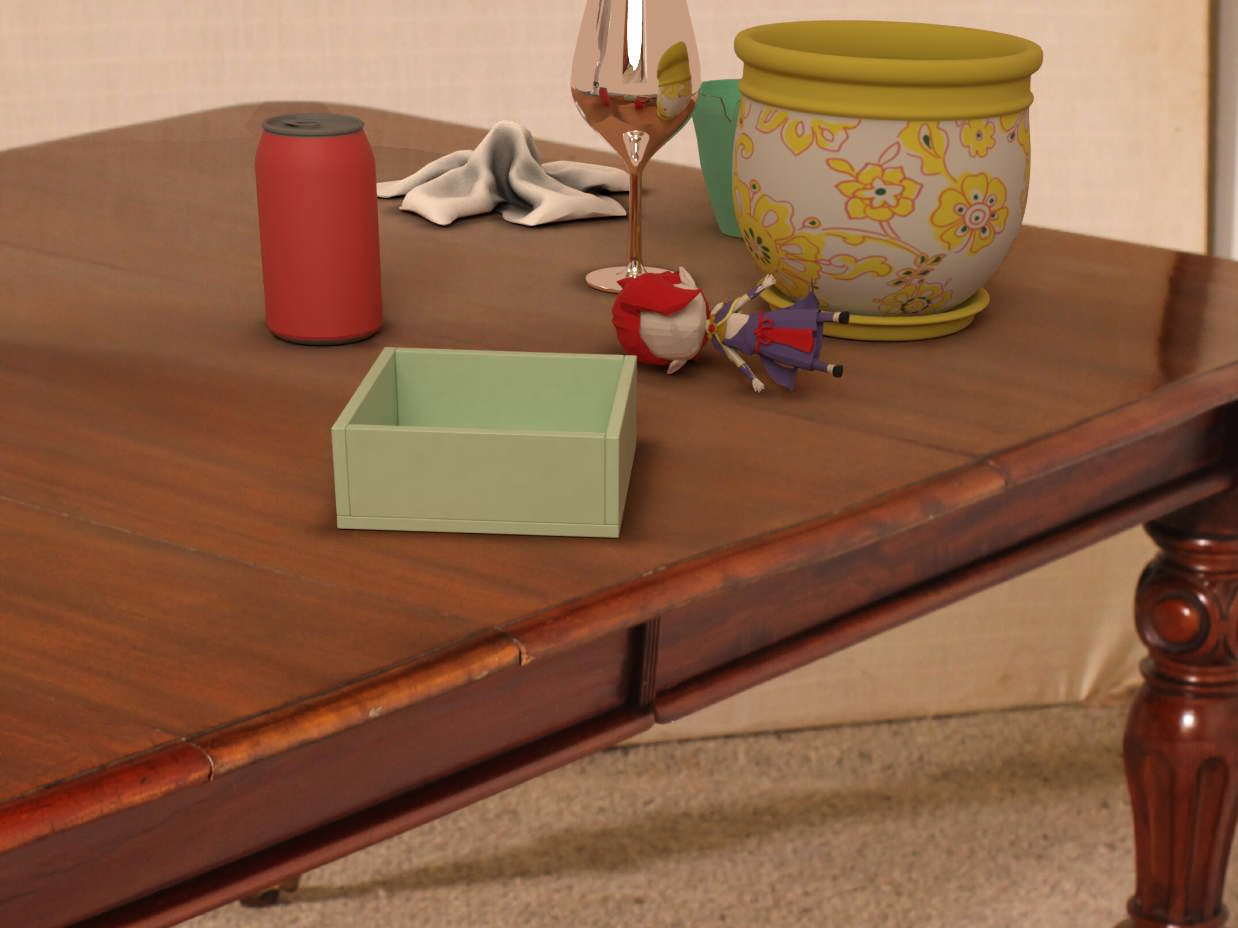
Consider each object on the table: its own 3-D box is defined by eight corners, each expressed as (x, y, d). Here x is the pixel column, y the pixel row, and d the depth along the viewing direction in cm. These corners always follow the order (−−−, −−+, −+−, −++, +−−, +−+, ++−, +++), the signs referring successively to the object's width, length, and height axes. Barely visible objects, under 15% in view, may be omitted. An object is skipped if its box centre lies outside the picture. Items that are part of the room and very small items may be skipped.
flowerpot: (894, 375, 105) (915, 71, 98) (665, 309, 116) (669, 32, 109) (1075, 318, 117) (1104, 45, 110) (852, 264, 128) (867, 12, 121)
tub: (337, 528, 82) (331, 427, 80) (388, 437, 93) (384, 346, 91) (618, 538, 82) (619, 437, 80) (636, 445, 93) (637, 355, 91)
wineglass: (545, 279, 122) (542, -13, 114) (639, 260, 127) (641, -20, 120) (630, 305, 117) (632, 1, 109) (724, 284, 122) (732, -7, 115)
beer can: (309, 311, 113) (295, 107, 108) (405, 326, 111) (395, 117, 106) (244, 339, 107) (226, 124, 102) (343, 354, 105) (331, 136, 100)
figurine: (815, 408, 97) (558, 369, 102) (869, 399, 104) (627, 363, 110) (830, 282, 95) (568, 249, 101) (883, 282, 103) (637, 251, 108)
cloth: (638, 178, 152) (639, 100, 150) (648, 230, 135) (648, 143, 133) (358, 173, 150) (354, 94, 148) (332, 226, 133) (327, 138, 131)
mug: (694, 247, 131) (698, 100, 127) (678, 216, 140) (681, 77, 136) (900, 247, 133) (910, 102, 129) (872, 216, 142) (880, 80, 138)
